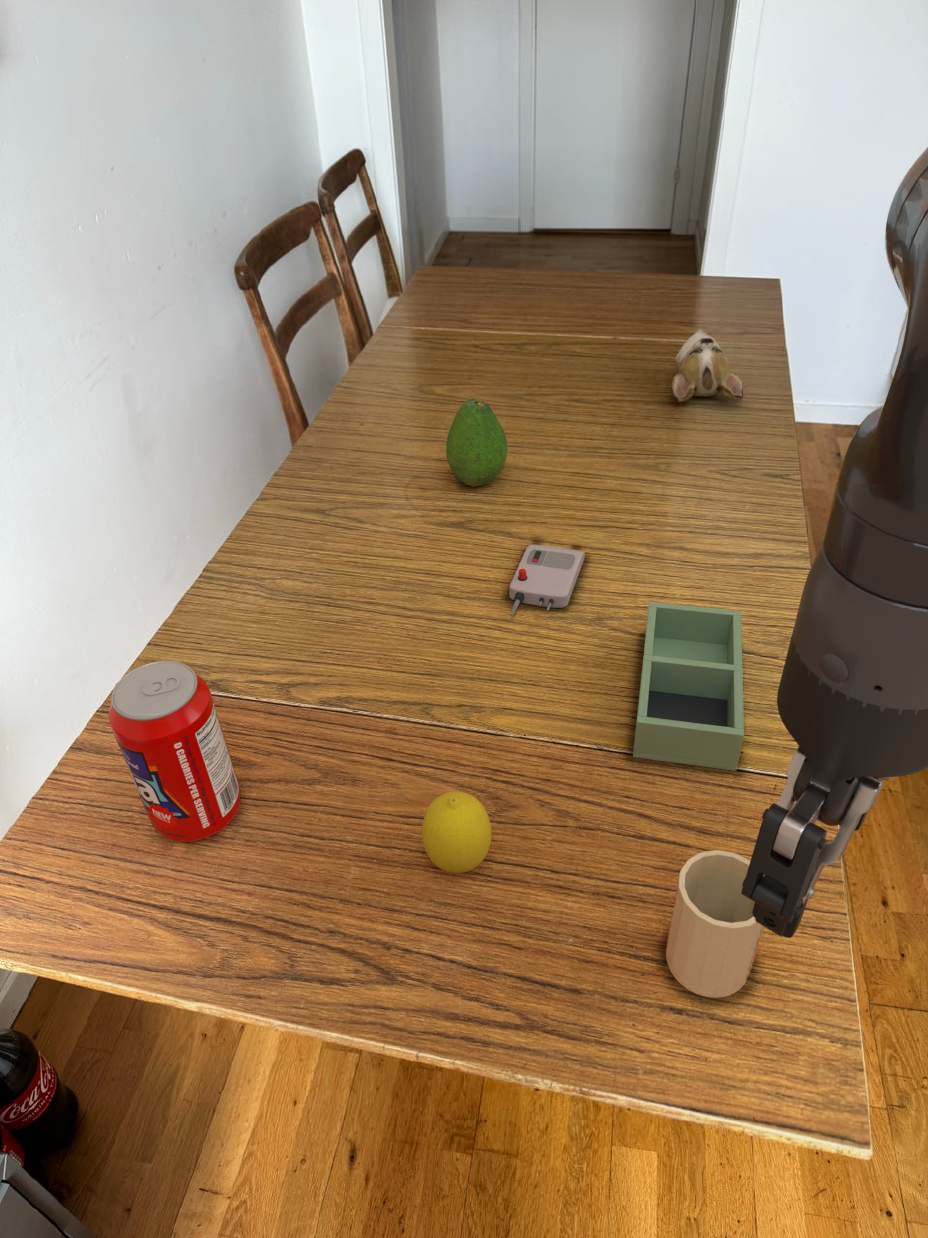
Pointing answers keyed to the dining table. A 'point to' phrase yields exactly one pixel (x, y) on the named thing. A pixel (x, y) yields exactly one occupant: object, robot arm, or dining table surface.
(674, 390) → the ceramic sculpture
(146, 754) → the soda can
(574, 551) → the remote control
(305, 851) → the dining table surface
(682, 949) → the cup
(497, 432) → the fruit
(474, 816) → the lemon
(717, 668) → the holder
